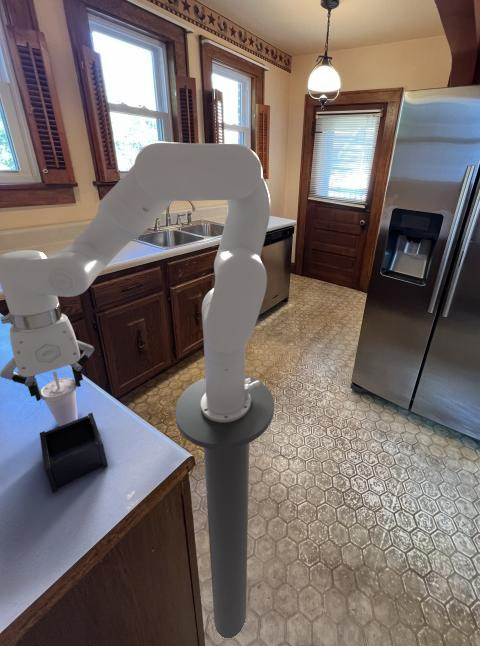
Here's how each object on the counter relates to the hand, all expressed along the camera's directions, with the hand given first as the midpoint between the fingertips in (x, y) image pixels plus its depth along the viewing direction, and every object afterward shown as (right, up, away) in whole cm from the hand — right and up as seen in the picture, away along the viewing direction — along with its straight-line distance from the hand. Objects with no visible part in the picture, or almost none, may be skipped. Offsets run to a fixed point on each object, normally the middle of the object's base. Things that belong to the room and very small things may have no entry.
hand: (58, 389), depth 66 cm
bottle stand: (+7, -13, -5) cm, 15 cm away
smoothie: (0, -9, +4) cm, 9 cm away
